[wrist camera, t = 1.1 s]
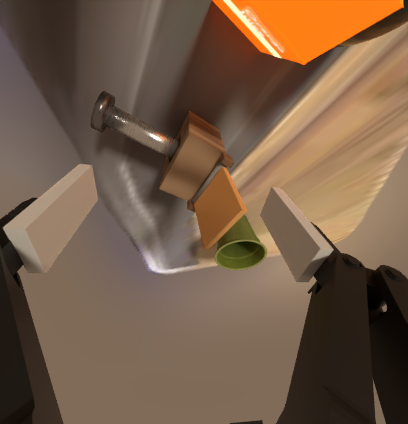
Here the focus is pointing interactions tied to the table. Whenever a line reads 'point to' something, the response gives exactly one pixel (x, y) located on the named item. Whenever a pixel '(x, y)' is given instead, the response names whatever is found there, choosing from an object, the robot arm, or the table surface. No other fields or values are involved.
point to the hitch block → (193, 159)
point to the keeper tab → (217, 206)
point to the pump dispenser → (379, 27)
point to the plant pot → (240, 247)
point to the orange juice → (303, 23)
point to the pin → (130, 126)
